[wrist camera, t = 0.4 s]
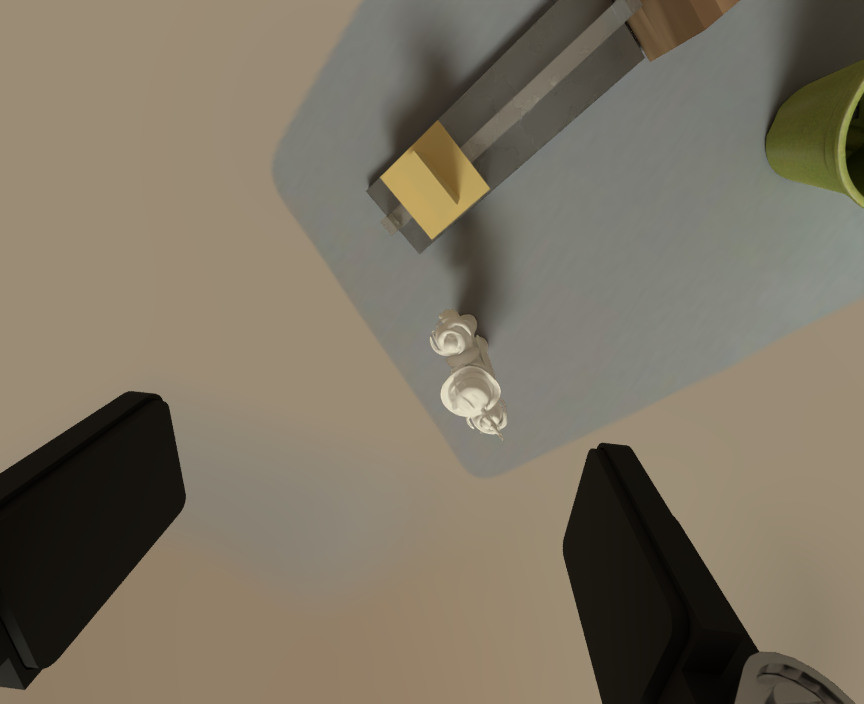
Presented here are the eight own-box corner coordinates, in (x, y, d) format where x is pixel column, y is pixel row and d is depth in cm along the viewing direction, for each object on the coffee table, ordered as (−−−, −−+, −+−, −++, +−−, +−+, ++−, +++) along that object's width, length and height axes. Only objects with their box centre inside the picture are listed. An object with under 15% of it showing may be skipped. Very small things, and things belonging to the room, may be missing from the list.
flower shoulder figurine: (508, 372, 37) (524, 458, 26) (467, 386, 38) (466, 475, 27) (471, 278, 34) (471, 332, 23) (427, 296, 35) (407, 356, 24)
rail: (587, -27, 26) (606, -59, 22) (639, 61, 27) (665, 44, 23) (368, 190, 32) (355, 193, 28) (420, 251, 33) (414, 262, 30)
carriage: (441, 124, 28) (431, 110, 21) (488, 186, 30) (493, 192, 23) (388, 176, 30) (362, 179, 23) (435, 233, 31) (424, 253, 24)
